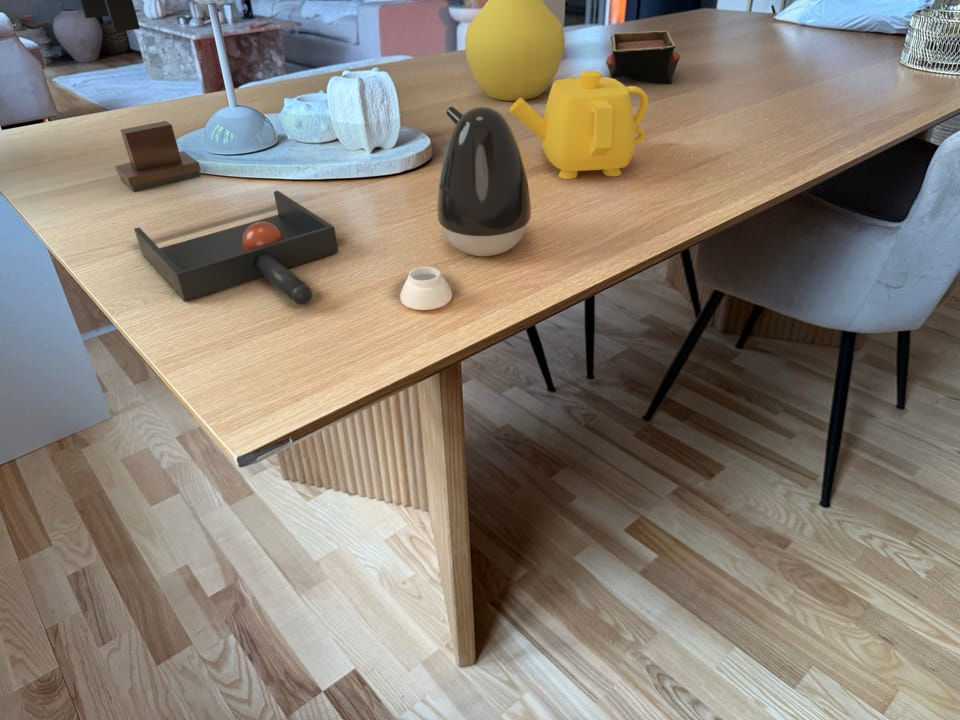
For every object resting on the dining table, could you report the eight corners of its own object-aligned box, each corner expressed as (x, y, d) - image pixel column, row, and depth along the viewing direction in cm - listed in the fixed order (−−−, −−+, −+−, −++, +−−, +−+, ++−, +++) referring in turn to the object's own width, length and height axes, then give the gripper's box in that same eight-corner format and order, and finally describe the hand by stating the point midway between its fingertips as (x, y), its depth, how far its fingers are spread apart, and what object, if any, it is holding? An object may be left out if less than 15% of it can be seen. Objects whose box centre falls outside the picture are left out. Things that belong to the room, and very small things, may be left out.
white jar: (404, 316, 66) (456, 309, 67) (401, 289, 65) (454, 282, 65) (398, 292, 70) (447, 285, 71) (395, 265, 69) (445, 259, 69)
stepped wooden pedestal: (122, 188, 97) (102, 128, 93) (189, 172, 102) (173, 115, 97) (135, 201, 93) (115, 139, 88) (204, 184, 98) (189, 124, 93)
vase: (509, 113, 123) (508, -88, 106) (447, 94, 135) (437, -89, 118) (582, 94, 132) (592, -93, 115) (518, 78, 144) (519, -93, 127)
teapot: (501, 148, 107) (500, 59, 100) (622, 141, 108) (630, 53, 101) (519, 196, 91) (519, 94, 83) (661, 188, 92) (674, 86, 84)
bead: (258, 277, 75) (242, 253, 77) (295, 260, 77) (278, 237, 79) (246, 247, 72) (230, 223, 74) (286, 230, 73) (268, 207, 75)
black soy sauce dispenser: (487, 220, 85) (484, 89, 76) (549, 246, 78) (553, 106, 69) (420, 245, 79) (409, 107, 71) (480, 276, 73) (476, 128, 64)
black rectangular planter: (600, 95, 139) (607, 43, 132) (607, 61, 152) (614, 12, 145) (673, 102, 137) (684, 50, 130) (674, 67, 150) (684, 18, 143)
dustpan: (142, 254, 79) (133, 228, 77) (282, 214, 88) (277, 190, 86) (222, 345, 63) (214, 314, 61) (385, 285, 72) (382, 257, 70)
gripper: (116, -208, 67) (175, 32, 79) (59, -188, 84) (115, 8, 96) (30, -212, 63) (105, 40, 76) (-12, -190, 80) (56, 15, 92)
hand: (111, 23), depth 86 cm, fingers open, 13 cm apart
